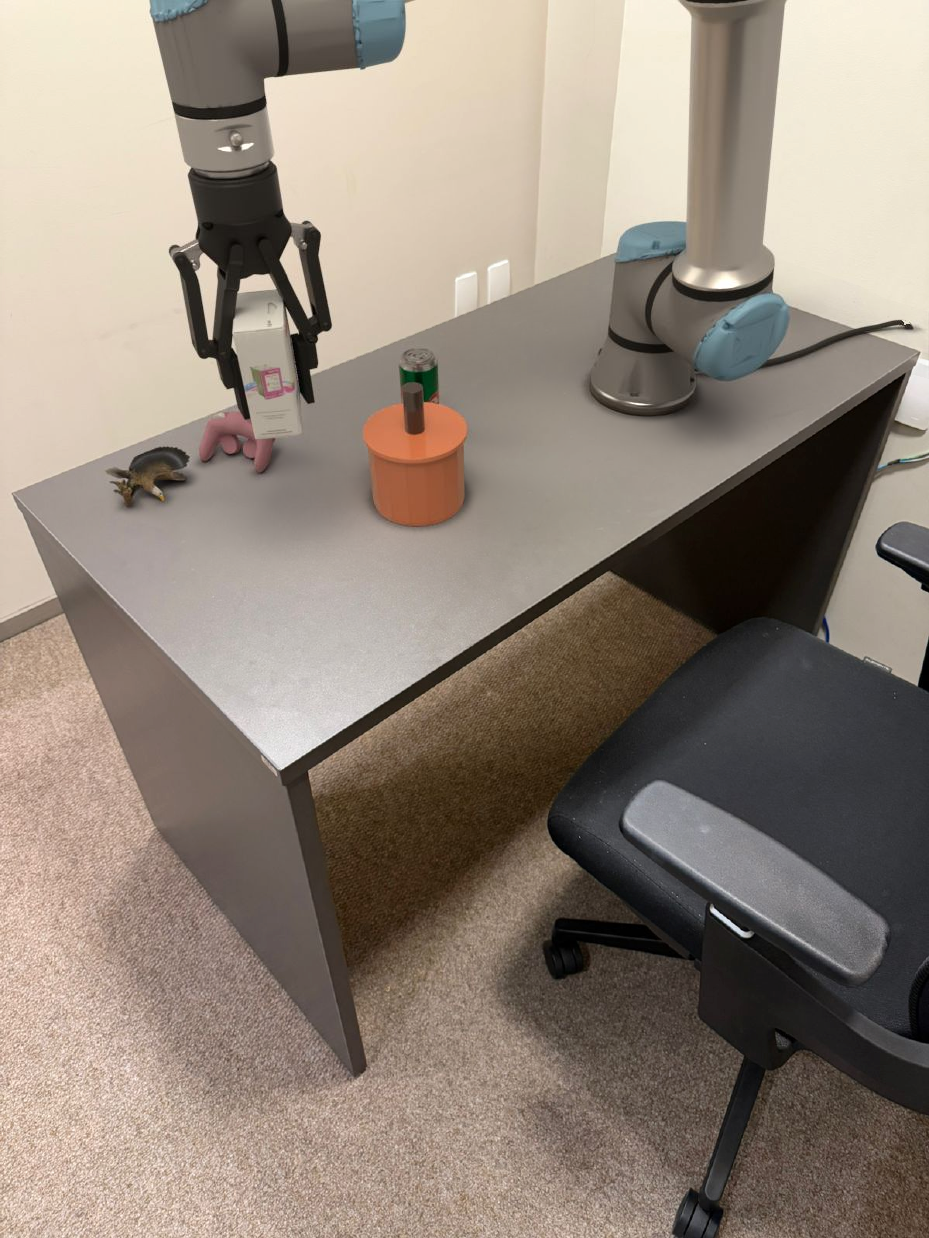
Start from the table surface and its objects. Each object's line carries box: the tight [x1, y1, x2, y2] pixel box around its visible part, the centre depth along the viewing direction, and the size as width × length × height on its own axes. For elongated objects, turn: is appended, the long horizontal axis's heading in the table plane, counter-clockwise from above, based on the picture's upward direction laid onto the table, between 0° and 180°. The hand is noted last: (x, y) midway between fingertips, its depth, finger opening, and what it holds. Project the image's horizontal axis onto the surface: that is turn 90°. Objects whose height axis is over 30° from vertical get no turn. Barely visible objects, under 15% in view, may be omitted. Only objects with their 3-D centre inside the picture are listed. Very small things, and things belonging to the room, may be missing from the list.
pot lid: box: [362, 382, 468, 463], centre depth 100 cm, size 12×12×7 cm
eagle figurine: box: [104, 445, 191, 507], centre depth 108 cm, size 8×7×9 cm
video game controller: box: [198, 411, 276, 473], centre depth 114 cm, size 10×5×7 cm, turn 71°
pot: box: [367, 443, 465, 527], centre depth 106 cm, size 11×11×10 cm
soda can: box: [398, 347, 440, 405], centre depth 115 cm, size 5×5×12 cm
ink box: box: [232, 288, 303, 439], centre depth 86 cm, size 9×5×12 cm, turn 9°
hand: (276, 404), depth 89 cm, fingers closed on ink box, 6 cm apart
